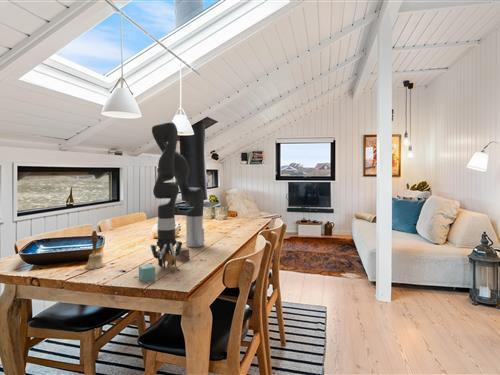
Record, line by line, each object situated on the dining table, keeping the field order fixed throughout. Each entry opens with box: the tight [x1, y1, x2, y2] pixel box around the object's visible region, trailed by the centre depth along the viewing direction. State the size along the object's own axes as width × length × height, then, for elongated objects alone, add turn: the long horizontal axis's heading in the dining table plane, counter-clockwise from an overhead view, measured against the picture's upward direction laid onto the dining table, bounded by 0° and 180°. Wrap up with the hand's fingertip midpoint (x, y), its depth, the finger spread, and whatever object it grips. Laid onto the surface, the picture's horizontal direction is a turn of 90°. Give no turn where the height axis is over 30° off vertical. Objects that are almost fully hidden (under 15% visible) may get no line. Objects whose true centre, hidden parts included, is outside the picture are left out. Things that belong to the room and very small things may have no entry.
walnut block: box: [176, 247, 190, 262], centre depth 151 cm, size 5×5×5 cm
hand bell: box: [84, 230, 106, 270], centre depth 139 cm, size 8×8×16 cm
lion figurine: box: [156, 249, 181, 273], centre depth 136 cm, size 15×5×9 cm, turn 51°
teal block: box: [138, 263, 156, 282], centre depth 124 cm, size 5×5×5 cm
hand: (166, 265), depth 138 cm, fingers closed on lion figurine, 4 cm apart
